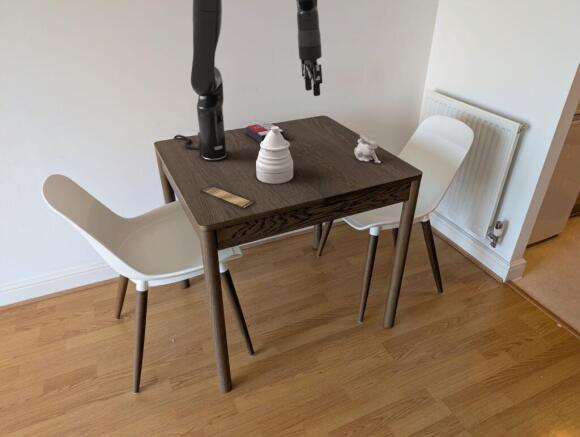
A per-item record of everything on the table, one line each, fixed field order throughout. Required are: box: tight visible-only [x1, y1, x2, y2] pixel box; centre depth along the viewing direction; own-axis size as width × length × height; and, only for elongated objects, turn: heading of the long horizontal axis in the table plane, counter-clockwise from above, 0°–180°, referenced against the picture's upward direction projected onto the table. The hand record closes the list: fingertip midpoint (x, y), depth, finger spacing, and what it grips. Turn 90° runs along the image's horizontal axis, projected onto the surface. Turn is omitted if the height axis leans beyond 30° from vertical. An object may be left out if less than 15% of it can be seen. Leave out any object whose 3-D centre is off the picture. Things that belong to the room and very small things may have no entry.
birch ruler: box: [203, 185, 254, 209], centre depth 135 cm, size 18×4×1 cm, turn 53°
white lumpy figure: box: [354, 134, 382, 164], centre depth 158 cm, size 12×8×10 cm, turn 32°
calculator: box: [245, 121, 286, 144], centre depth 180 cm, size 11×4×15 cm
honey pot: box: [255, 125, 294, 185], centre depth 144 cm, size 13×13×18 cm
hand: (312, 92), depth 148 cm, fingers open, 8 cm apart
